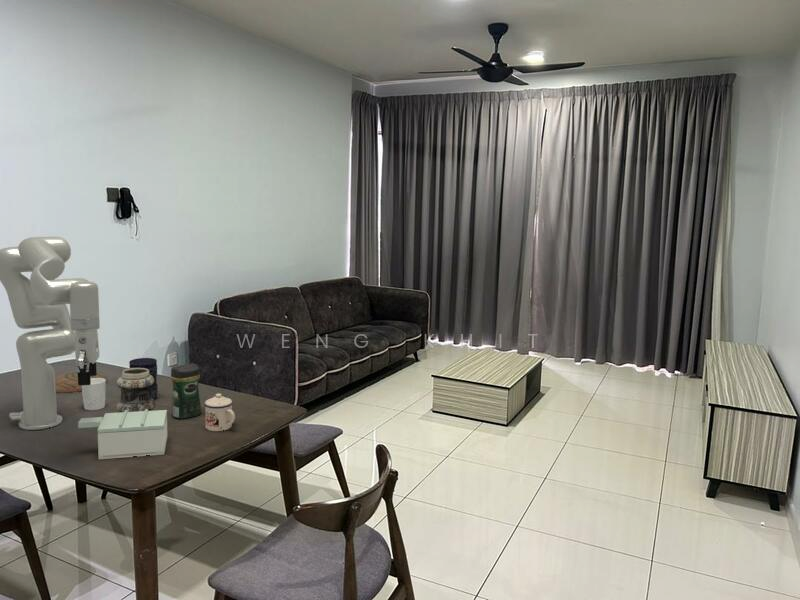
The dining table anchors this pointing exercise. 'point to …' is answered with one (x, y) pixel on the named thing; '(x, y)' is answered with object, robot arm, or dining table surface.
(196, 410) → the coffee jar
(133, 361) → the storage jar
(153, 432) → the tub
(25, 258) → the robot arm
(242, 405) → the dining table surface
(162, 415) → the lid
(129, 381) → the apothecary jar
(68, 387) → the trivet
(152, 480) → the dining table surface
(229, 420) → the teacup with lid
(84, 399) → the white cup
